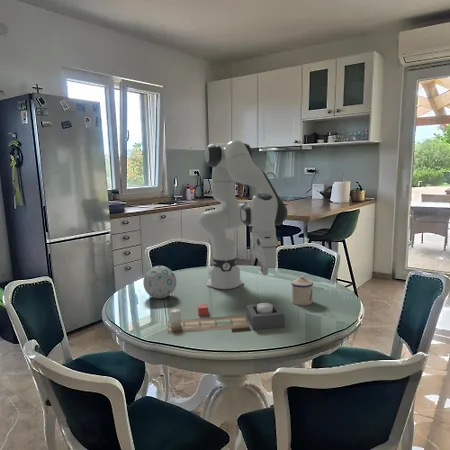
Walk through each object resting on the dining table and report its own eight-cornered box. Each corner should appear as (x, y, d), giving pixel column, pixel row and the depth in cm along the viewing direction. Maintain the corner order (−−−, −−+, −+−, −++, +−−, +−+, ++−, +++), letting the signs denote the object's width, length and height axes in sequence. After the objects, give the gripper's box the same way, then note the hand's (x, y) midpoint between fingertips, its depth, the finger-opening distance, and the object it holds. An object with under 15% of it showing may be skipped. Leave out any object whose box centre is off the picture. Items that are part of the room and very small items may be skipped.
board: (168, 323, 148) (168, 320, 148) (244, 317, 151) (244, 314, 151) (167, 336, 136) (167, 333, 136) (250, 329, 140) (250, 327, 140)
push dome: (255, 310, 149) (255, 303, 148) (270, 309, 149) (270, 302, 149) (258, 316, 143) (258, 309, 142) (274, 315, 143) (274, 307, 143)
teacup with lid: (314, 305, 162) (314, 279, 160) (293, 306, 162) (293, 279, 160) (309, 296, 173) (309, 271, 172) (289, 296, 174) (289, 271, 172)
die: (198, 314, 156) (197, 304, 156) (207, 313, 157) (207, 303, 156) (198, 317, 152) (198, 308, 152) (208, 317, 153) (208, 307, 152)
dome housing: (246, 317, 152) (246, 305, 151) (276, 314, 153) (276, 302, 152) (252, 329, 140) (252, 316, 139) (284, 326, 141) (284, 314, 141)
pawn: (170, 324, 144) (169, 309, 143) (181, 323, 144) (180, 308, 143) (170, 329, 140) (169, 313, 139) (181, 328, 140) (180, 312, 140)
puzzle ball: (143, 304, 169) (141, 271, 167) (145, 293, 184) (143, 263, 182) (177, 301, 172) (176, 269, 169) (176, 291, 186) (175, 261, 184)
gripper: (250, 233, 151) (250, 267, 153) (261, 243, 131) (262, 282, 133) (265, 232, 152) (266, 266, 154) (279, 242, 132) (279, 281, 134)
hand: (264, 273), depth 144 cm, fingers closed
